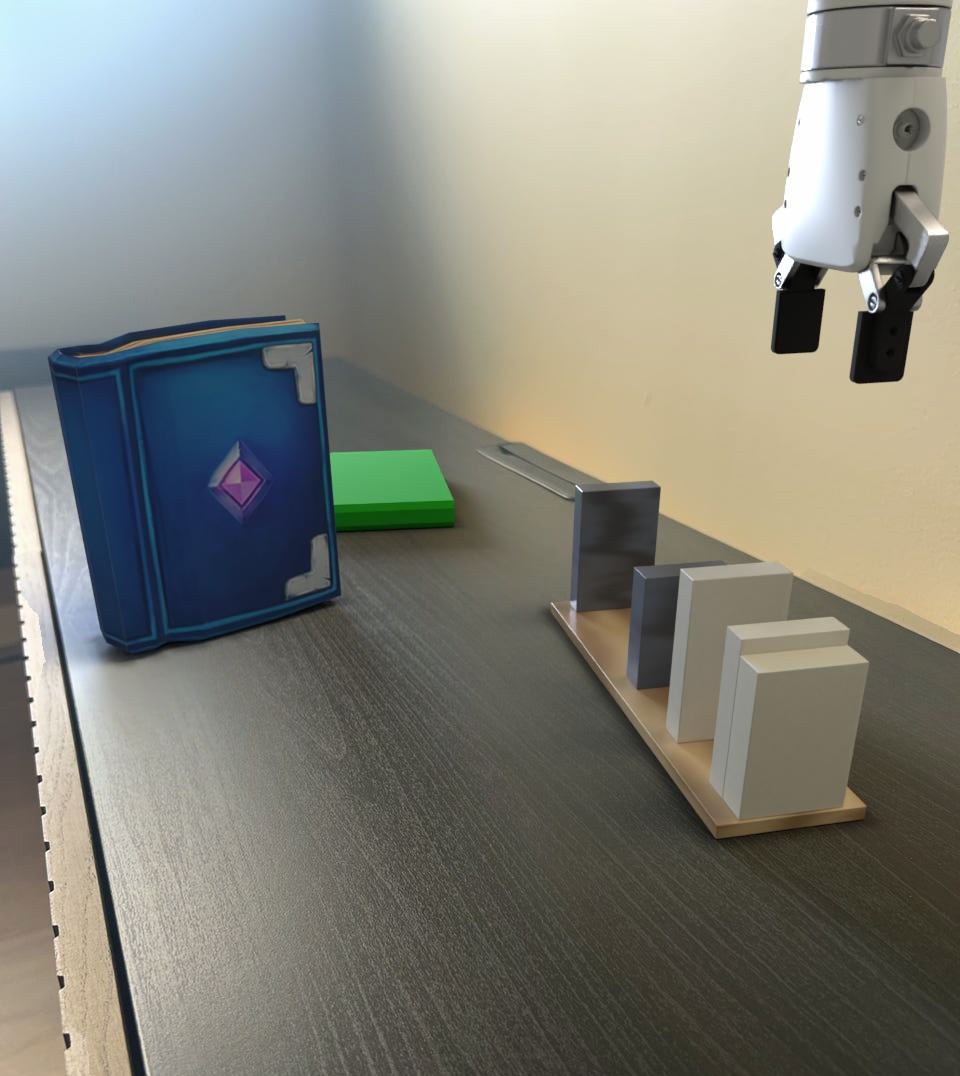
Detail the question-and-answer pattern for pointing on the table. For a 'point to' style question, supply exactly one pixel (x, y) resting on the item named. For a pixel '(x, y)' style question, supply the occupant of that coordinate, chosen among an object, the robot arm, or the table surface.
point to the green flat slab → (389, 490)
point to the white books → (786, 717)
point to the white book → (716, 635)
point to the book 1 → (200, 476)
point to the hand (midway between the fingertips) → (832, 366)
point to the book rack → (648, 642)
